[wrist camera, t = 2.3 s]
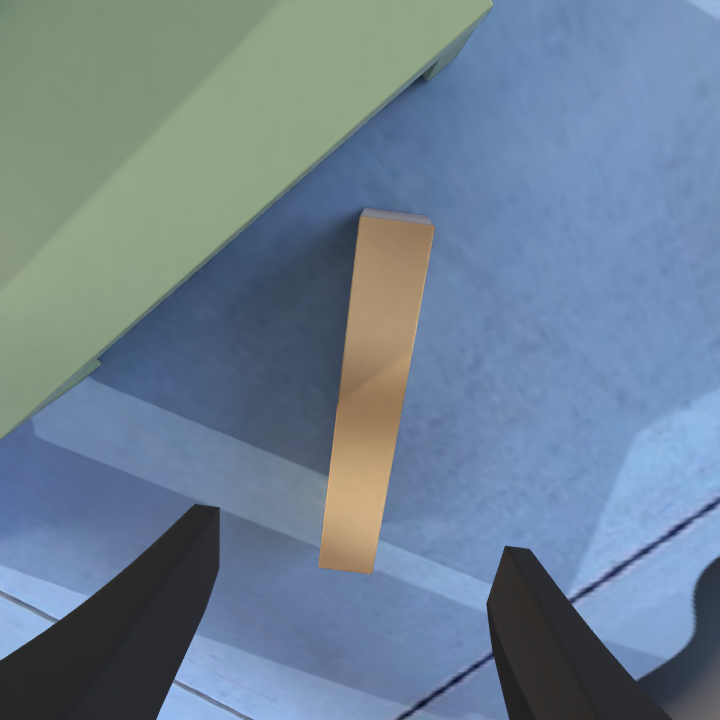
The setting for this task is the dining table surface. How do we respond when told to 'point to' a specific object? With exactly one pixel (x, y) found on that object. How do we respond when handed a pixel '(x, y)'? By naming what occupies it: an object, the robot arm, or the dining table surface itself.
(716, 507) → the dining table surface
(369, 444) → the stick
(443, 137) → the dining table surface
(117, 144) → the shelf
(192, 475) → the dining table surface
